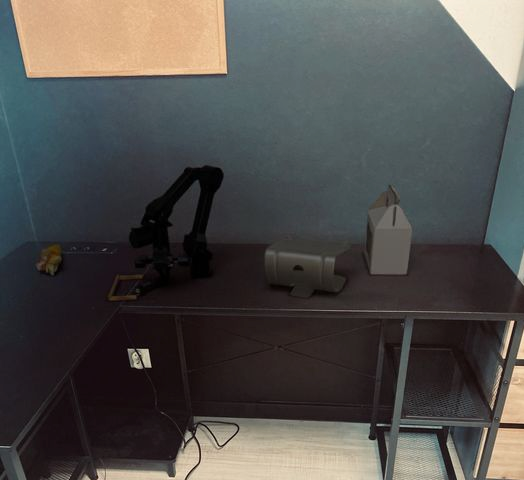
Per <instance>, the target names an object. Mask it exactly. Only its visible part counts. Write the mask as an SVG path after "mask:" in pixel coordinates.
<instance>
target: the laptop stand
mask: <svg viewBox="0 0 524 480" xmlns="http://www.w3.org/2000/svg"><path fill="white" fill-rule="evenodd" d="M351 247H352V244H349V240H343V241H342V243H334V242H333V243H332V242H325V241H324V242H322V241H314V240H305V239H296V238H295V239H293V235H292V234H287V235H286V238H281V239H280V240H278V241H275V242H274V243H273V244H271V245H269V246H267V247H266V249H265V251H264V252H265V253H264V275H265V280H266V282H267V284H269V285H276V286H277V285H278V286H286V287H293V288H292V289H291V291H290V293H289V295H290V296H292V297H298V298H310V297H311V296H312V295H313V293H314V292H315V290H317V291H325V292H330V293H339V292H340V291H341V290H342V288H343V287H344V285H345V283H346V281H347V279H346V277H345V276H342V275H339V274H334V272H335V271H334V270H335V262H336V258H337V257H338V256H339V255H341V254H342V253H344V252H345V251H347V250H348V249H350V248H351ZM296 266H299V267H301V268H302V270H299V269H294V268H295V267H296Z"/></svg>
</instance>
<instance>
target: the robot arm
mask: <svg viewBox="0 0 524 480" xmlns="http://www.w3.org/2000/svg"><path fill="white" fill-rule="evenodd" d="M224 176H225V174H224V171H223V170H222V168H221V167H218V166H214V165H209V164H204V165H203V166H187V167H186V166H185V168H184V169H183V172H182V173H181V174H180V175H179V176H178V178H176V179H175V181H174V182H173V183H172V184H171V186H169V188H167V189H166V191H165V192H164V193H163V194H162V195H161V196H159V197H157V198H155V199H153V200H151V202H149V203H148V204H147V205H146V206H145V208H144V209H145V211H144V214H143V216H142V219H141V221H140V223H139V224H140V225H139V226H132V227H130V231H129V234H128V240H129V241H128V242H129V243H130V245H131V247H132V248H133V249H134V250H137V249H140V248H144V247H147V246H151V245H152V257H149V256H148V254H138V255H136V257H135V259H134V268H135V269H145V268H146V267H147V265H152V268H151V269H152V270H155V271H156V272H157V273H158V275H159V277H160V276H161V278H162V280H163V282H164V283H163V285H165V284H166V285H167V284H168V281H169V280H168V275H169V274H170V273H171V270H173V269H174V268H175V263H177V265H178V266H180V267H189V266H190V274H191V277H192V278H210V277H211V269H210V261H212V260H213V256H214V253H212V252H211V251H210V250H208V249H207V248H208V241H207V237H206V236H207V235H206V231H207V228H208V222H209V219H210V215H211V210H212V206H213V203H214V196H215V194H216V193H217V192H218V190H219V189H220V188H221V186H222V184H223V181H224ZM196 181H198V184H199V188H200V189H199V190H200V192H199V195H198V196H199V197H198V201H197V205H196V209H195V214H194V217H193V218H194V219H193V223H192V227H191V230H190V232H189V233H184V235H183V236H184V237H183V241H182V243H181V245H182V250H183V253H181V252H180V253H177V254H178V256H174V254H173V253H171V247H170V246H171V245H170V239H169V238H170V236H169V229H168V228H170V227H173V226H174V224H173V223H172V222H171V221H170V220H169V218H170V217H171V215H172V214H173V210H174V207H175V205H176V204H177V202H179V200H180V199H181V198H182V197H183V196H184V195H185V194H186V192H187V191H188V190H189V189H190V188H191V187H192V186H193V184H194V183H195V182H196ZM167 280H168V281H167Z"/></svg>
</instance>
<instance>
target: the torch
mask: <svg viewBox="0 0 524 480" xmlns="http://www.w3.org/2000/svg"><path fill="white" fill-rule="evenodd" d="M41 251H42V252H41V254H40V257H41V258H40V259H39V261H38V262H37V263H35V266H36V268H37V269H38V270H39V271H46V274H47V273H49V274H50V275H51V276H54V274H55V272H57V270H58V268H59V266H60V264H61V262H62V248H61V245H60V244H58V243H57V244H55V243H54V244H53V245H51V246H48V247H47V248H42V250H41Z"/></svg>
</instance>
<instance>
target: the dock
mask: <svg viewBox="0 0 524 480" xmlns="http://www.w3.org/2000/svg"><path fill="white" fill-rule="evenodd" d="M139 279H140V280H142V279H144V274H131V275H120V274H116V277H115V278H114V281H113V283H112V286H111V288H110V291H109V293H108V295H107V300H108V301H127V300H129V301H130V300H131V301H132V300H137V299H138V297H137V296H138V295H137V294H133V295H131V294H130V295H115V293H116V290H117V287H118V286H119V283H120V281H122V280H123V281H124V280H139Z"/></svg>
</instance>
